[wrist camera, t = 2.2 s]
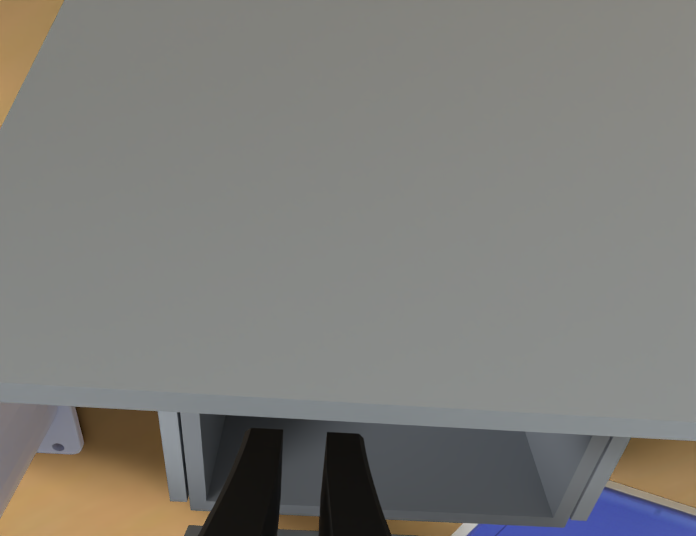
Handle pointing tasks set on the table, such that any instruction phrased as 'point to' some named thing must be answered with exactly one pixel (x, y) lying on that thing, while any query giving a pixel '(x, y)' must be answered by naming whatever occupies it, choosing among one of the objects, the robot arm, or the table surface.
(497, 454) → the carton
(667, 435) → the flap
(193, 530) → the flap
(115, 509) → the table surface
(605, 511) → the hard drive
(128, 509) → the table surface
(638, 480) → the table surface
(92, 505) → the table surface
